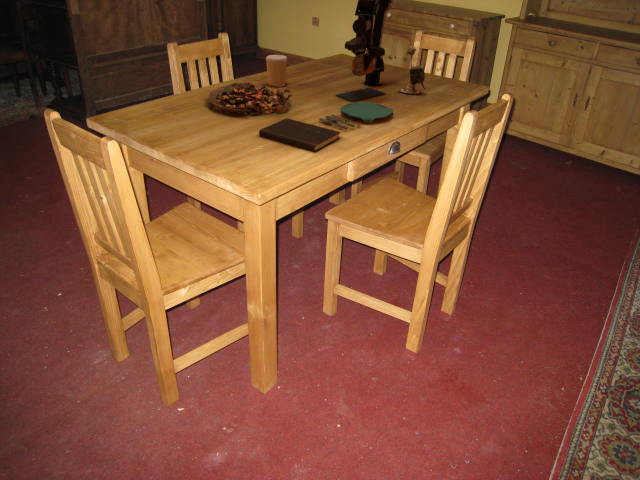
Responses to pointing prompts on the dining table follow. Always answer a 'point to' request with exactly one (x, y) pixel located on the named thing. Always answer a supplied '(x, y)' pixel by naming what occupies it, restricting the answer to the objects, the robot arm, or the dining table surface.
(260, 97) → the food dish
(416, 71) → the plant with pod
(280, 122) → the hardcover book
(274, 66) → the glass of beer
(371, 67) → the tin
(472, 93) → the dining table surface
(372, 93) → the placemat
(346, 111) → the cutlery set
